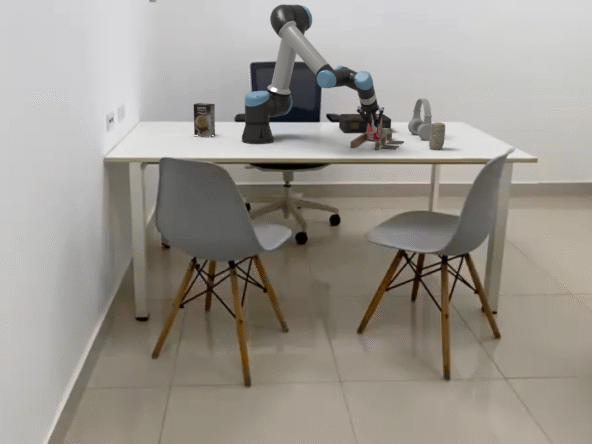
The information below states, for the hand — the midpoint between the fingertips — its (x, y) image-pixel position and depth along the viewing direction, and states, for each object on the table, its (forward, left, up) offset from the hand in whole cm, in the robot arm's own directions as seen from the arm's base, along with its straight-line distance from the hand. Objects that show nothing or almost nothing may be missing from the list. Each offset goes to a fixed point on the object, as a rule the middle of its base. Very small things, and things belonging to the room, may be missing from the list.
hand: (375, 130), depth 320 cm
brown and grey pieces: (+3, -4, -6) cm, 7 cm away
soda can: (-1, +4, -6) cm, 7 cm away
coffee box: (-84, -16, -6) cm, 85 cm away
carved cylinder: (+30, -6, -6) cm, 32 cm away
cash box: (-14, +33, -6) cm, 36 cm away
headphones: (+18, +23, -6) cm, 30 cm away
